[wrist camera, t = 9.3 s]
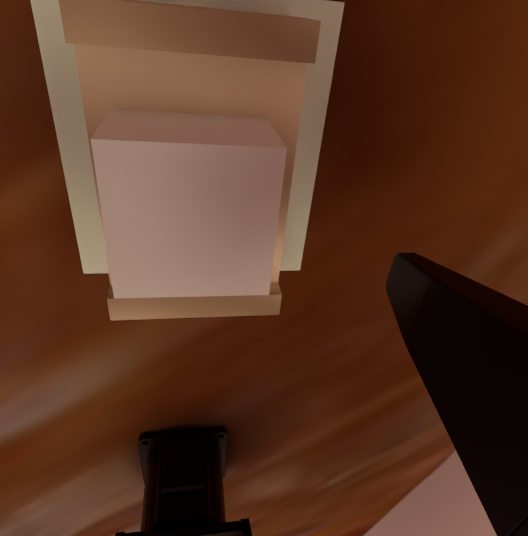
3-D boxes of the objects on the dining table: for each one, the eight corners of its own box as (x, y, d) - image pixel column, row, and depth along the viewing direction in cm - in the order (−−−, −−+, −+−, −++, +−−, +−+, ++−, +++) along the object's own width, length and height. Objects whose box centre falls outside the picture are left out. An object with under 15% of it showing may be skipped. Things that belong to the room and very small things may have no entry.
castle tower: (264, 262, 19) (279, 314, 16) (123, 264, 18) (110, 320, 15) (290, 15, 14) (321, 20, 10) (90, -6, 12) (57, -6, 9)
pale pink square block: (255, 246, 15) (269, 295, 12) (126, 246, 14) (113, 298, 12) (267, 118, 12) (286, 148, 10) (111, 108, 12) (90, 138, 9)
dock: (287, 240, 22) (299, 270, 20) (96, 240, 20) (83, 273, 18) (320, 1, 16) (344, 2, 14) (52, -28, 14) (23, -34, 12)
